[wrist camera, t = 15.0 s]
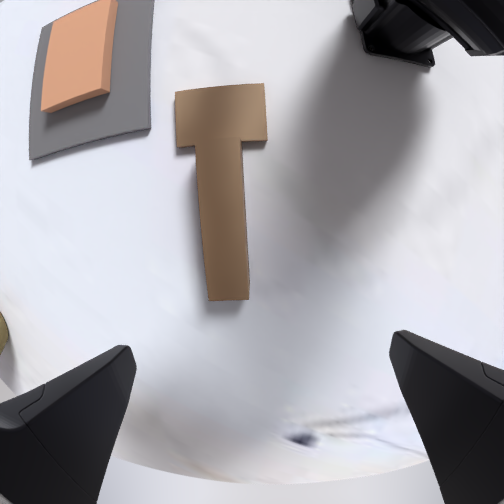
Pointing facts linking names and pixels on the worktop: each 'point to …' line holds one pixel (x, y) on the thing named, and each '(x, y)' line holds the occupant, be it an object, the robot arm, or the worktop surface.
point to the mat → (106, 105)
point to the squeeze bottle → (3, 333)
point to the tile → (79, 56)
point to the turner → (222, 176)
